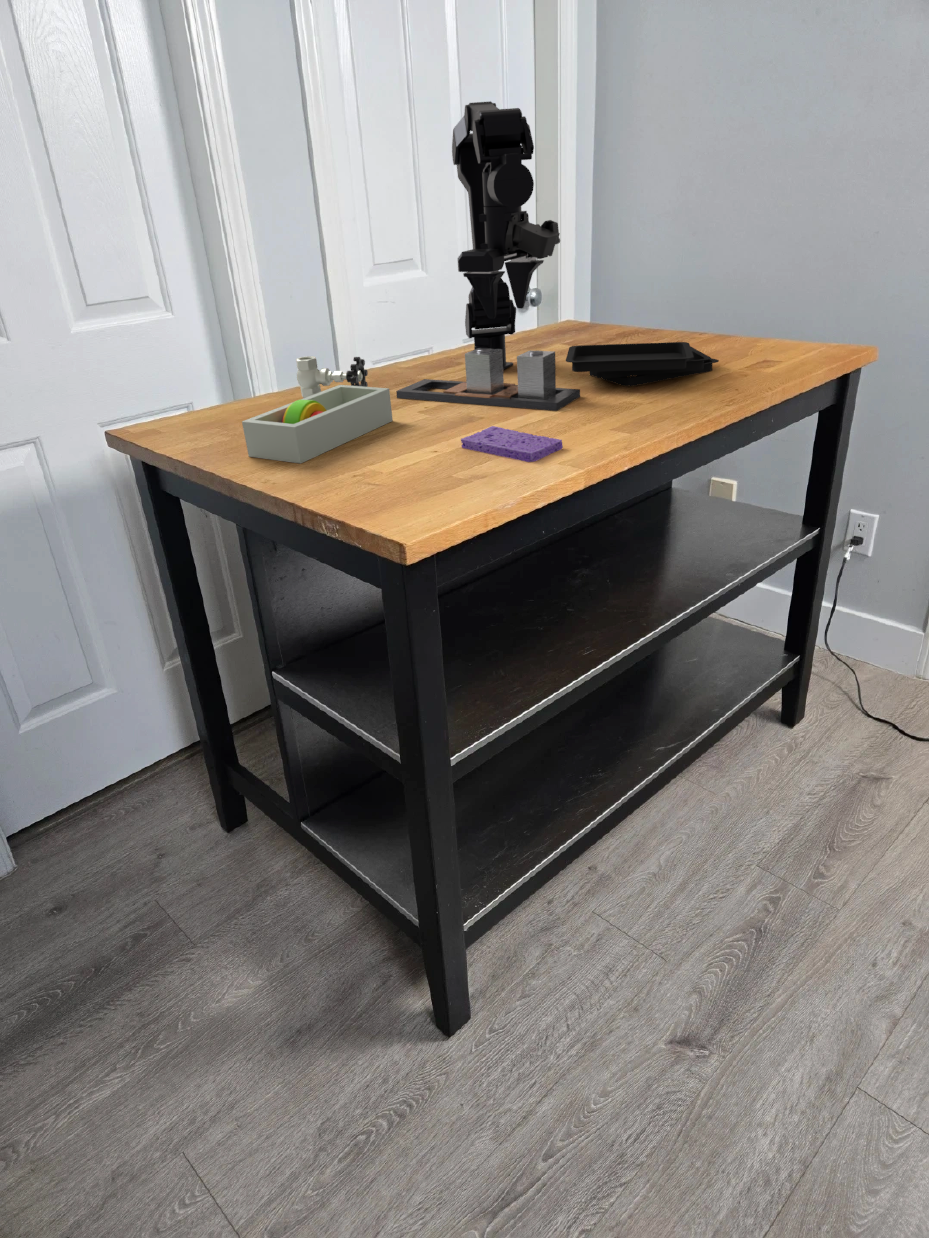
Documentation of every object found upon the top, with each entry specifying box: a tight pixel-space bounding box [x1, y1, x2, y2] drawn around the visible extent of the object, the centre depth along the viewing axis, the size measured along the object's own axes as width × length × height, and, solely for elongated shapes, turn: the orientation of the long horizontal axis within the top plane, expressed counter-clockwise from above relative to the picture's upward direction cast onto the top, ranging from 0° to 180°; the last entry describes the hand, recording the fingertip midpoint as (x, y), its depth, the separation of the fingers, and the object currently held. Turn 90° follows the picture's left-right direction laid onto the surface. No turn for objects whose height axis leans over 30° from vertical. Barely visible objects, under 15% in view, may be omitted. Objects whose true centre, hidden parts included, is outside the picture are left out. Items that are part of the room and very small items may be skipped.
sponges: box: [460, 425, 564, 463], centre depth 112 cm, size 7×13×2 cm, turn 48°
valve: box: [295, 355, 369, 399], centre depth 146 cm, size 7×7×12 cm
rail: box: [396, 378, 581, 412], centre depth 138 cm, size 30×9×1 cm, turn 60°
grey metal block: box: [516, 349, 557, 400], centre depth 132 cm, size 4×4×8 cm
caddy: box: [241, 384, 393, 464], centre depth 122 cm, size 22×10×5 cm, turn 150°
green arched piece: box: [282, 399, 327, 424], centre depth 121 cm, size 6×20×7 cm, turn 150°
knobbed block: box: [464, 348, 505, 395], centre depth 136 cm, size 4×4×8 cm
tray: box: [565, 341, 720, 387], centre depth 142 cm, size 30×23×5 cm
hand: (506, 313), depth 134 cm, fingers open, 9 cm apart
